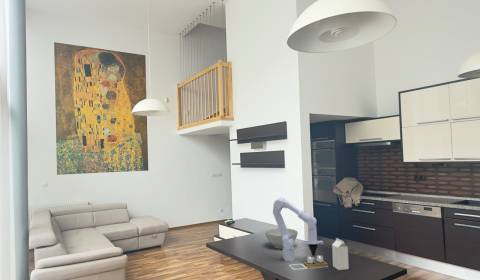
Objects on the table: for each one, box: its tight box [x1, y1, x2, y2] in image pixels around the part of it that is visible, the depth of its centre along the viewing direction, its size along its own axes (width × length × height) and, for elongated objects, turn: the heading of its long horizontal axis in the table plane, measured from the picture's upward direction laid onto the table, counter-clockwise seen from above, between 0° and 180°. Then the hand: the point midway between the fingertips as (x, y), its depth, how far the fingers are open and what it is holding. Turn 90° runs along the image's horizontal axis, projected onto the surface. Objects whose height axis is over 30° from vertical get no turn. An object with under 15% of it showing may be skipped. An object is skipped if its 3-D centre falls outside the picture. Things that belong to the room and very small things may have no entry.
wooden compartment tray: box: [303, 260, 329, 270], centre depth 203 cm, size 8×14×3 cm, turn 101°
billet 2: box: [316, 254, 324, 264], centre depth 204 cm, size 4×4×6 cm
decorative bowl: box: [264, 227, 299, 250], centre depth 255 cm, size 27×27×12 cm
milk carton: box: [331, 237, 350, 271], centre depth 199 cm, size 7×7×19 cm
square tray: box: [288, 263, 308, 271], centre depth 202 cm, size 9×9×2 cm
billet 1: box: [306, 255, 314, 265], centre depth 202 cm, size 4×4×6 cm
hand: (313, 255), depth 211 cm, fingers closed
